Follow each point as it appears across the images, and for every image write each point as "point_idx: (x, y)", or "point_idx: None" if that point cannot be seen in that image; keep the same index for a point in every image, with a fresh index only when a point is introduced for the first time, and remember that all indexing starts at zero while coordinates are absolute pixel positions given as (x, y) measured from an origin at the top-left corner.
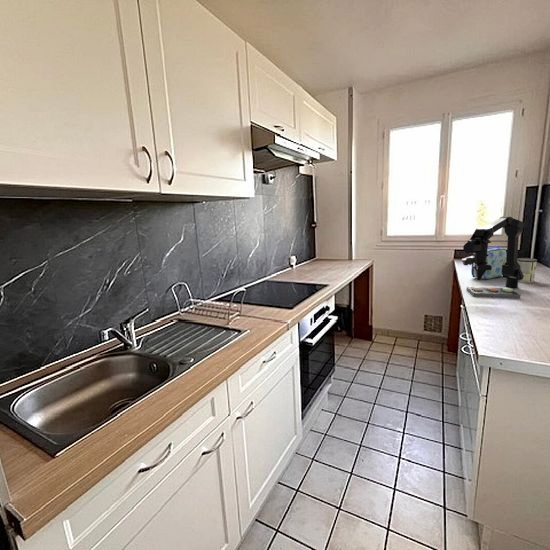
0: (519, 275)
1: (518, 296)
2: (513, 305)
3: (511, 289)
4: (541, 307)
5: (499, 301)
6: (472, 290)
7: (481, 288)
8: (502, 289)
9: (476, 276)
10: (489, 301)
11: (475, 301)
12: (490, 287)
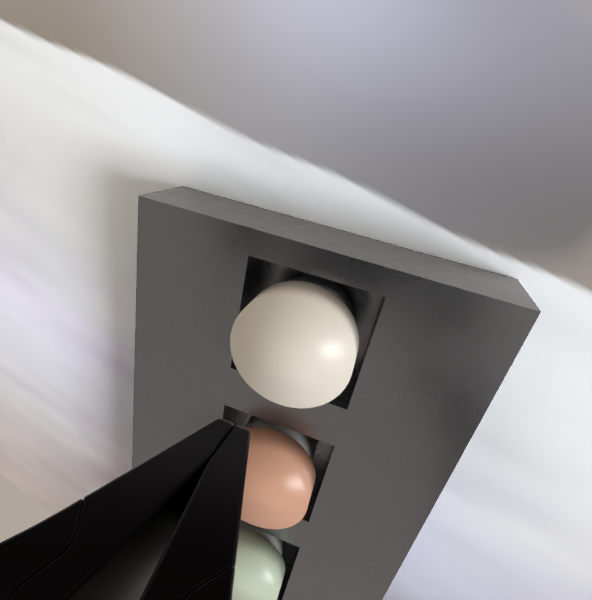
0: None
1: None
2: (30, 380)
3: None
4: (33, 487)
5: (113, 362)
6: (277, 258)
7: (238, 371)
8: (256, 549)
9: (210, 480)
10: (98, 284)
11: (70, 145)
12: (291, 496)
